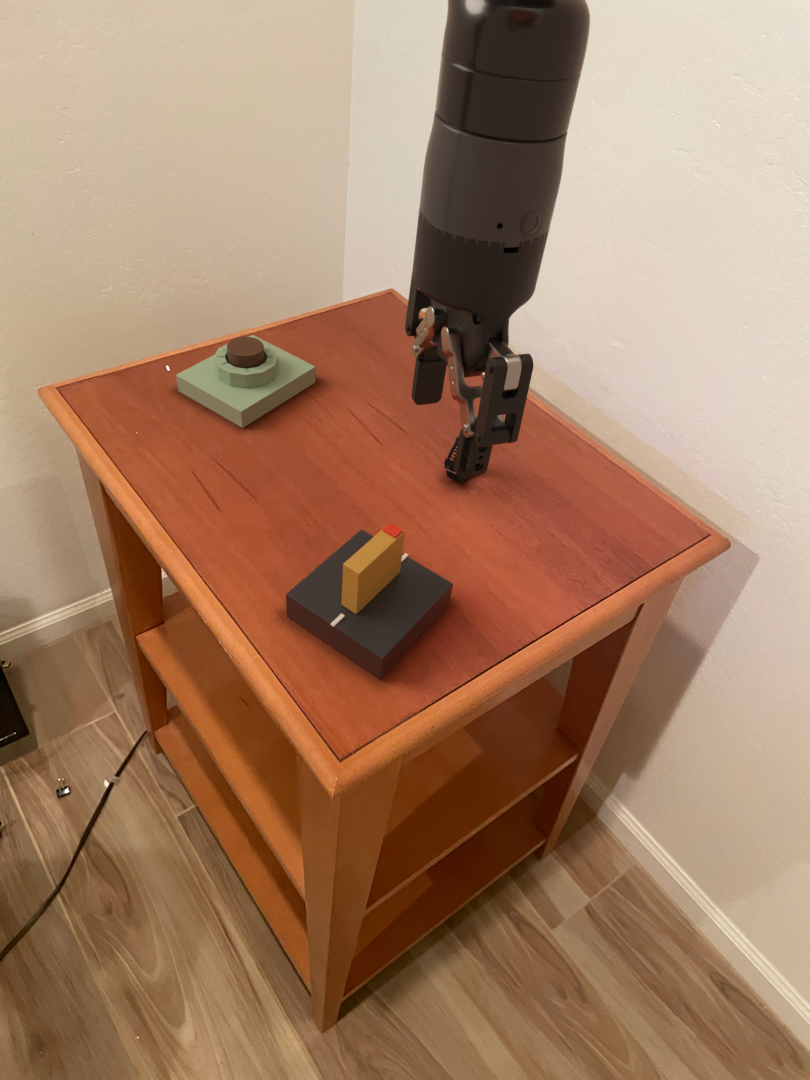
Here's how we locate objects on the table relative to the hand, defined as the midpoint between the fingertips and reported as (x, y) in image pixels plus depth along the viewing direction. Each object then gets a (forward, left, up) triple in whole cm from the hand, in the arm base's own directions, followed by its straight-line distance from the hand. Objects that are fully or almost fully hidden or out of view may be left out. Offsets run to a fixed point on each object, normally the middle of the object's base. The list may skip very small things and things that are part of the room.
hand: (446, 436), depth 53 cm
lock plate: (-5, +2, -18) cm, 18 cm away
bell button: (+12, +33, -14) cm, 38 cm away
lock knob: (-5, +2, -14) cm, 15 cm away
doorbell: (+12, +33, -18) cm, 39 cm away
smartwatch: (+15, +6, -18) cm, 24 cm away
